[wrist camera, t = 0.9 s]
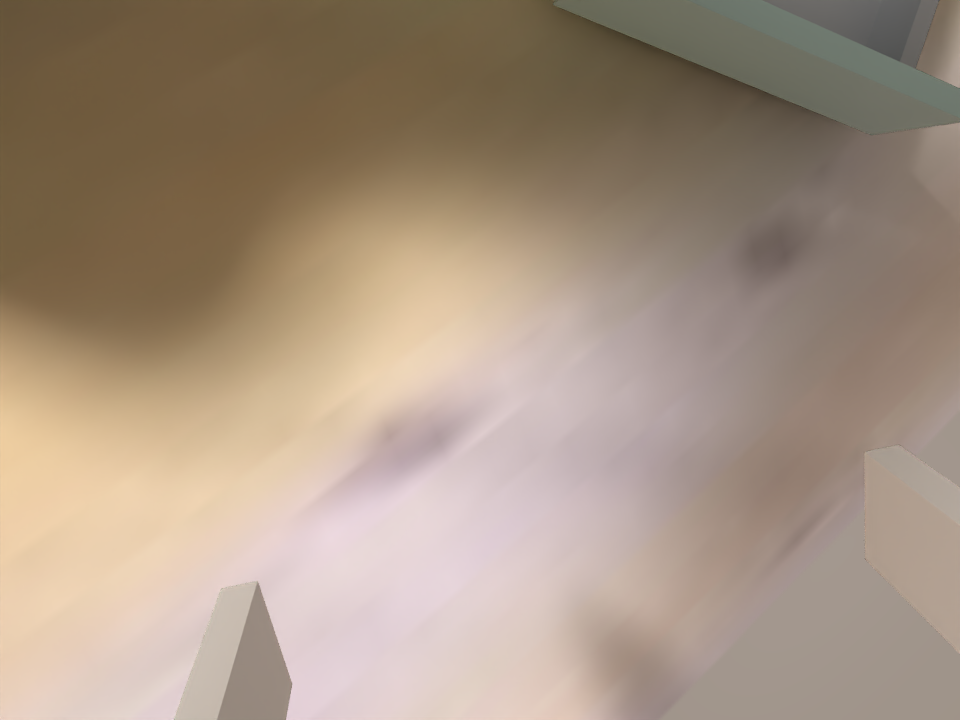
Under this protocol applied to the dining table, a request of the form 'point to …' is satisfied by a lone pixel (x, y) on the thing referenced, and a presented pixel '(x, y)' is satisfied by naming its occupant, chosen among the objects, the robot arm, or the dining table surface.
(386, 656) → the dining table surface
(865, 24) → the tray
